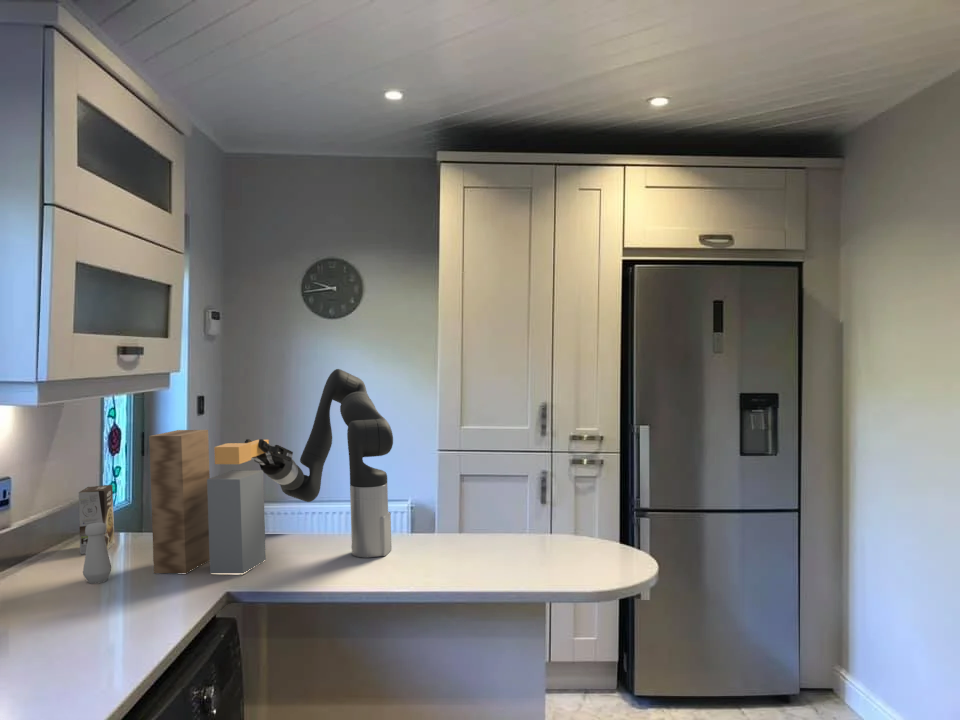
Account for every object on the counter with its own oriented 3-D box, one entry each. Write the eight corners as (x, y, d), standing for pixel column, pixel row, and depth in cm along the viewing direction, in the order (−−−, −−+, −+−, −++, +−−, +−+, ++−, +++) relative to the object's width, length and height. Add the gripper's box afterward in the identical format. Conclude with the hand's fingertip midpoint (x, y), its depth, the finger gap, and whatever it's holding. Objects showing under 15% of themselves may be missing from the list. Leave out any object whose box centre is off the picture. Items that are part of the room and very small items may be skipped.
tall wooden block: (212, 559, 183) (208, 429, 182) (185, 574, 171) (181, 435, 171) (182, 558, 184) (177, 430, 184) (153, 573, 172) (149, 436, 172)
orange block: (274, 451, 190) (274, 435, 190) (239, 464, 171) (238, 447, 171) (252, 451, 191) (251, 435, 190) (215, 464, 172) (214, 447, 172)
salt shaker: (84, 579, 169) (82, 522, 169) (112, 575, 172) (110, 519, 172) (82, 586, 164) (80, 527, 164) (111, 582, 167) (109, 524, 166)
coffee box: (106, 552, 192) (104, 490, 191) (79, 554, 190) (77, 492, 190) (115, 543, 201) (113, 484, 200) (89, 545, 199) (87, 485, 199)
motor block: (265, 560, 181) (263, 470, 181) (242, 575, 169) (239, 479, 169) (235, 559, 182) (232, 470, 182) (210, 574, 170) (207, 479, 170)
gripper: (257, 453, 202) (230, 428, 187) (306, 453, 200) (282, 428, 185) (252, 480, 199) (223, 456, 184) (302, 480, 197) (277, 456, 182)
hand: (253, 442), depth 185 cm, fingers closed on orange block, 3 cm apart
